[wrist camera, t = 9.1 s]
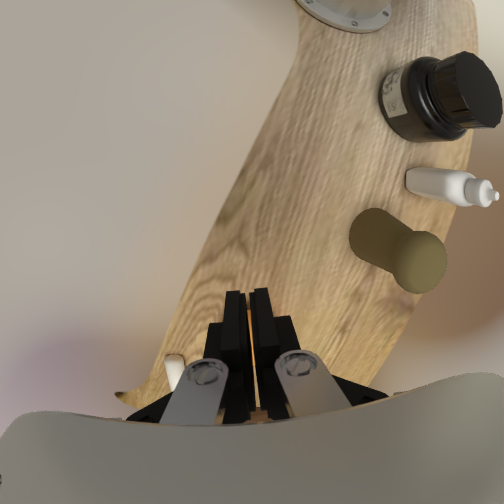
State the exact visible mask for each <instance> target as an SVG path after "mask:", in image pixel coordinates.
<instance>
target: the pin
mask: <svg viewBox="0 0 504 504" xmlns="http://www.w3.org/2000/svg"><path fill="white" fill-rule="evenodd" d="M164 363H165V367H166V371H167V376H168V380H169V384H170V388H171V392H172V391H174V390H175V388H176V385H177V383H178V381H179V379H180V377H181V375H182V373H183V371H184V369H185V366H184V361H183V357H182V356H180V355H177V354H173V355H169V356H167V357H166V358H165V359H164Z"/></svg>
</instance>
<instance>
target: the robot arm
mask: <svg viewBox="0 0 504 504" xmlns="http://www.w3.org/2000/svg"><path fill="white" fill-rule="evenodd" d="M296 1H297V2H298V3H299V4H300V5H301V6H302V7H303V8H304V9H305V10H306V11H307V12H308V13H310V14H311V15H313V16H314V17H315V18H317V19H319V20H321V21H323V22H324V23H326V24H329V25H331V26H333V27H336V28H339V29H342V30H345V31H350V32H356V33H368V32H374V31H377V30H379V29H381V28H382V27H383V26H385V25H386V24H387V23H388V22H389V20H390V18H391V15H392V7H391V3H390V2H391V1H392V0H296ZM249 297H250V312H251V326H252V340H253V351H254V360H255V368H256V376H257V384H258V392H259V399H260V407H261V411H265V410H267V415H268V418H271V419H272V420H274V421H265V422H254V423H244V422H246V421H247V420H251V412H255V411H256V400H255V386H254V371H253V356H252V345H251V337H250V329H249V321H248V313H247V305H246V296H245V293H242V294H240V290H237V291H226V299H225V308H224V318H223V322H219V323H210V324H209V327H208V333H207V339H206V344H205V350H204V356H203V359H200V360H197V361H194V362H192V363H191V364H189V365H188V366H187V367H186V368H185V369H184V371H183V373H182V375H181V377H180V379H179V381H178V383H177V385H176V388H175V390H174V391H172V392H171V393H169V394H167V395H165V396H164V397H162V398H160V399H159V400H157V401H155V402H153V403H152V404H150V405H148V406H146V407H144V408H143V409H141V410H139V411H137V412H135V413H134V414H132V415H131V416H129V417H128V418H127V419H126V420H122V418H103V417H96V416H89V415H83V414H77V413H71V412H70V413H69V412H62V411H38V412H30V413H27V414H23V415H21V416H19V417H17V418H16V419H15V420H14V421H13V422H12V423H11V424H10V426H9V427H8V428H7V429H6V431H5V432H4V433H3V435H2V436H1V438H0V504H504V378H502V377H501V376H499V375H496V374H493V373H468V374H463V375H458V376H453V377H450V378H446V379H443V380H439V381H436V382H433V383H431V384H428V385H425V386H422V387H418V388H416V389H412V390H409V391H404V392H396V393H394V394H393V396H390V397H389V396H388V395H386V394H385V393H383V392H380V391H377V390H374V389H371V388H368V387H365V386H362V385H359V384H357V383H354V382H351V381H348V380H345V379H342V378H340V377H337V376H334V375H332V374H330V372H329V371H328V369H327V367H326V366H325V364H324V363H323V361H322V360H321V358H320V357H319V356H318V355H317V354H315V353H313V352H311V351H307V350H301V348H300V345H299V342H298V339H297V336H296V332H295V329H294V326H293V323H292V320H291V317H290V315H288V316H280V317H273V312H272V308H271V303H270V298H269V294H268V289H267V287H266V288H256V289H254V292H251V293H249Z"/></svg>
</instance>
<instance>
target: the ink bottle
mask: <svg viewBox="0 0 504 504" xmlns="http://www.w3.org/2000/svg"><path fill="white" fill-rule="evenodd" d="M379 100H380V106H381V109H382V112H383V114H384V116H385V118H386V119H387V121H388V122H389V124H390V125H391V127H392V128H393V129H394V130H395V131H396V132H397V133H398V134H399V135H401V136H402V137H404V138H405V139H407V140H409V141H412V142H417V143H422V142H442V141H454V140H457V139H459V138H461V137H462V136H463V135H464V134H465V133H466V132H467V130H468V129H480V128H495V127H496V125H498V124H499V123H500V120H501V116H502V114H503V110H502V98H501V94H500V91H499V87H498V84H497V82H496V81H495V78H494V76H493V75H492V72H491V71H490V70H489V68H488V67H487V66H486V65H485V63H484V62H483V61H482V60H480V59H479V58H478V57H477V56H476V55H475V54H473V53H469V52H466V51H463V52H461V53H458V54H455V55H453V56H450V57H448V58H445V59H444V60H439V59H437V58H434V57H420V58H418V59H415V60H413V61H411V62H409V63H407V64H405V65H403V66H401V67H400V68H398V69H396V70H394V71H392V72H391V73H389V74H388V75H387V76H386V77H385V78H384V80H383V82H382V84H381V87H380V92H379Z"/></svg>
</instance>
